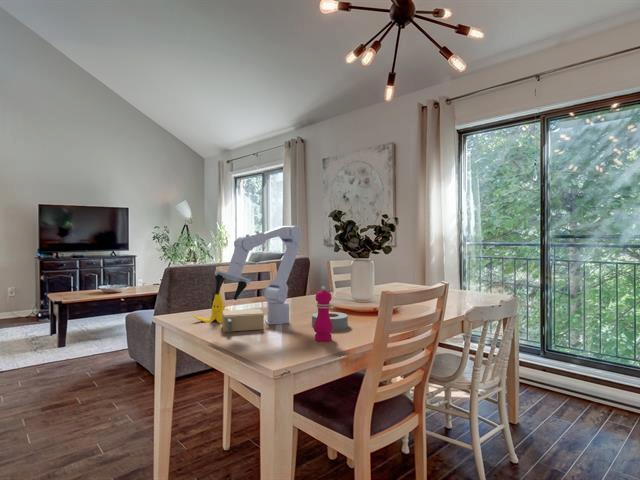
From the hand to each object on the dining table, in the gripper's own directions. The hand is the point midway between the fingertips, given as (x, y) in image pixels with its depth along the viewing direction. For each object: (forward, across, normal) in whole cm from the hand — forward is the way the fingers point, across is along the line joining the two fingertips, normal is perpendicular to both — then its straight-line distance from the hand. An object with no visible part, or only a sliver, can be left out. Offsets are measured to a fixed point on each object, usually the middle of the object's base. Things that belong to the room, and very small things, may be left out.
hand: (225, 297), depth 155 cm
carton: (+10, +8, +12) cm, 17 cm away
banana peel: (+9, -7, +26) cm, 29 cm away
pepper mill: (+5, +42, -4) cm, 42 cm away
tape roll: (-1, +43, +16) cm, 46 cm away
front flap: (+11, +11, +4) cm, 16 cm away
